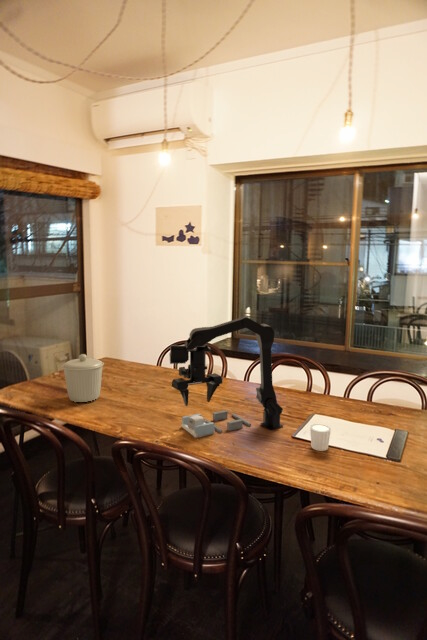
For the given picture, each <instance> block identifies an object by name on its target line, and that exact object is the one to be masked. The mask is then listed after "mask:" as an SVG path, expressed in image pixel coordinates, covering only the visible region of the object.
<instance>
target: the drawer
mask: <svg viewBox="0 0 427 640" xmlns="http://www.w3.org/2000/svg"><path fill="white" fill-rule="evenodd" d="M196 415H199V416H201V417H202V414H201V413H194V414H191V415H186V416H185V415H184V416H182V417H181V418H182V419H181V428H182V429H184V430H185V431H186V432H187V433H189V435H191V436H192V437H194V438H195V439H198V438H201V437H207V436H209V435H210V436H211V435H215V434H216V430H215V429H214V425H215V422H213V421H212V422H211V421H210V422H211V423H207V424H206V423H205V422H204V424H202V425H197V426H194V430H193V429H191V428H189V427H188V418H189V417H192V416H196Z"/></svg>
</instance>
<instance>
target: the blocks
mask: <svg viewBox="0 0 427 640" xmlns="http://www.w3.org/2000/svg"><path fill="white" fill-rule="evenodd" d="M231 417H233V418H234V419H235V420H229V421H226V422H227V423H226V425H227V426H226V430H227V431H228V432H231V431H235V430H238V429H243V425H244V424H245V425H246V426H248V427H252V423H251V422H250V421H248V420H246V419H244V418H243V417H241V416H239V415H238V414H235V413H233V412H232V413H231ZM226 419H228V410H226V409H225V410H221V411H214V412H212V421H214V422H217V421H221V420H226ZM204 420H206V421H207V422H204V423H206V424H207V423H211V421H210V420H209V419H207V418H204ZM214 430H215V432H216V431H217V432H218V433H220V434H222V433H223V429H222V428H221V427H219V426H218V425H217V424H214Z"/></svg>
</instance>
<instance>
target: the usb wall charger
mask: <svg viewBox="0 0 427 640" xmlns="http://www.w3.org/2000/svg"><path fill="white" fill-rule="evenodd" d="M204 419H205V418H204V417H203V416H202V415H201V416H199V415H196V416H192V417H189V418H188V427H189V428H191V429H193V430H194V426H197V425H202V424H204V423H205V422H207V421H206V420H204Z"/></svg>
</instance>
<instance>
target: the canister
mask: <svg viewBox="0 0 427 640" xmlns="http://www.w3.org/2000/svg"><path fill="white" fill-rule="evenodd" d="M104 365H105V362H103V361H101V360H100V359H97V358H90V357H89V358H88V355H86V353H81V354H79V356H78V358H76V359H75V358H73V359H70V360H68V361H66V362H65V363H63V364H62V365H61V368H62V369H63V373H64V378H65V380H64V381H65V386H66V390H67V396H68V399H69V400H70V401H71V402H73V401H74V402H73V403H76V402H87V401H91V402H93V401H92V400H94V401H96V400H97V399H98V398H99V397H100V394H101V387H102V377H103V376H102V375H103V366H104ZM95 399H96V400H95ZM87 403H88V402H87Z"/></svg>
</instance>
